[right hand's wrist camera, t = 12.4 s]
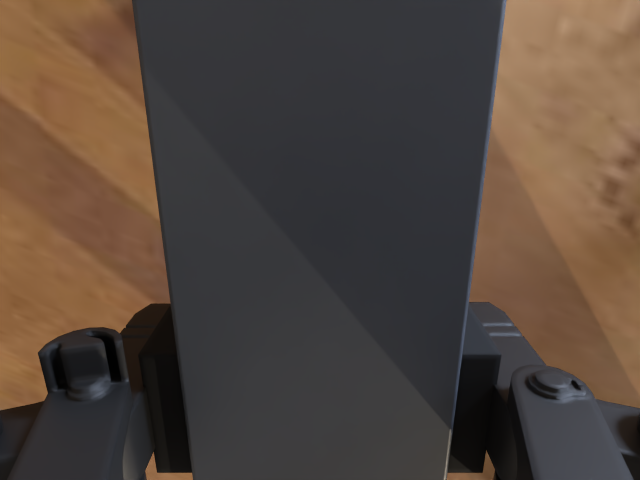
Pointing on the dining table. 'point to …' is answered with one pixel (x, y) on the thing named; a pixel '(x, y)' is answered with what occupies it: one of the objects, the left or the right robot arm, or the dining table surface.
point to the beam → (319, 224)
